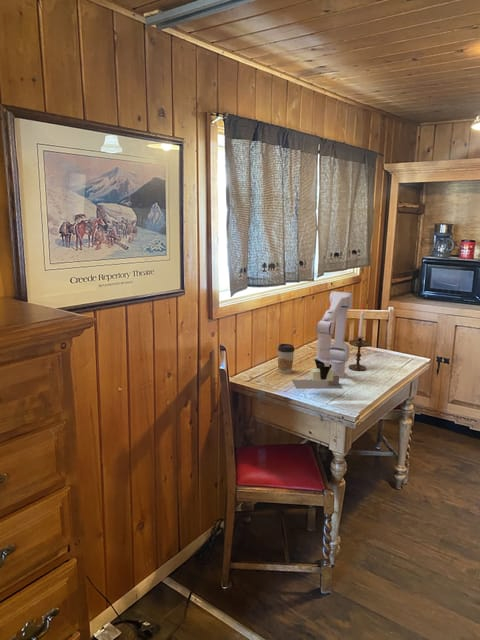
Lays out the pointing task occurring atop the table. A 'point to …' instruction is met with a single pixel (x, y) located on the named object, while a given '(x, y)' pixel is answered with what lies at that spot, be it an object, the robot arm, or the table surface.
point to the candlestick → (359, 345)
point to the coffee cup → (285, 358)
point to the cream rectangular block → (316, 375)
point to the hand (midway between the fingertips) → (321, 377)
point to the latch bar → (338, 373)
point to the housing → (318, 384)
